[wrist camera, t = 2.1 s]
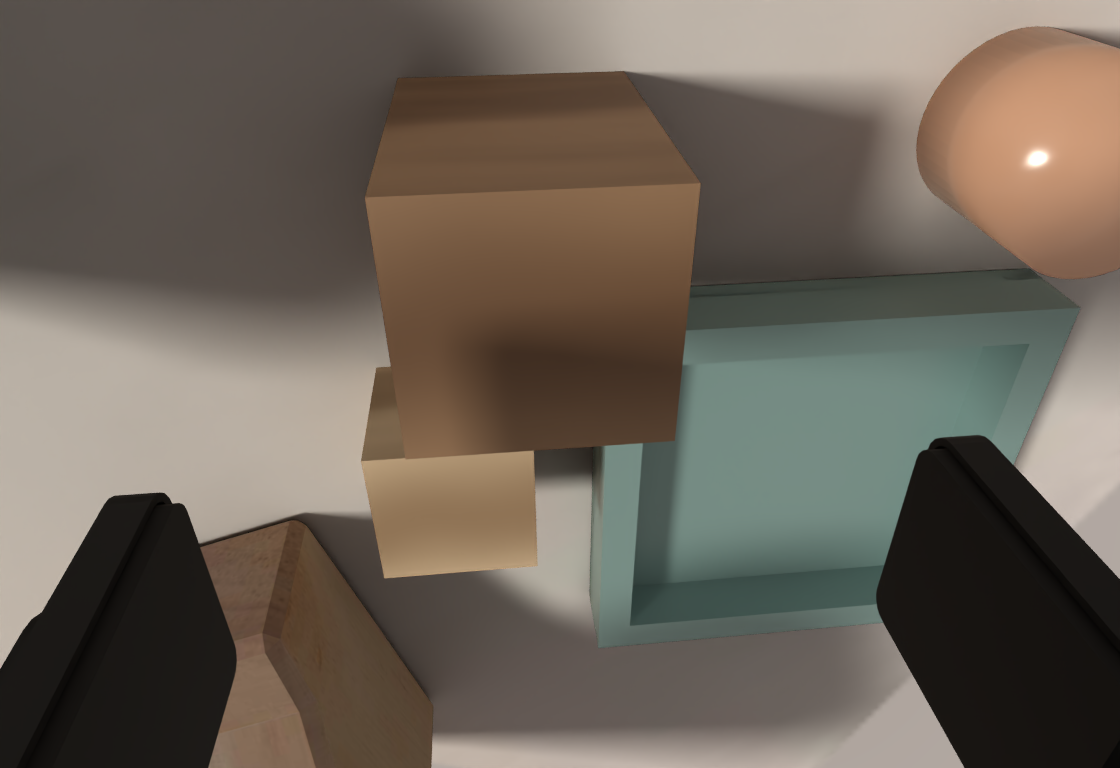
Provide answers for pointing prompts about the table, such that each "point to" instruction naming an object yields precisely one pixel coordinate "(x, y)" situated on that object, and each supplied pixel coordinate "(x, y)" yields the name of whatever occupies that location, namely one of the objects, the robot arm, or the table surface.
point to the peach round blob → (1032, 148)
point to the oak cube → (444, 501)
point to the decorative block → (309, 664)
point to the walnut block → (531, 262)
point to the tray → (807, 445)
